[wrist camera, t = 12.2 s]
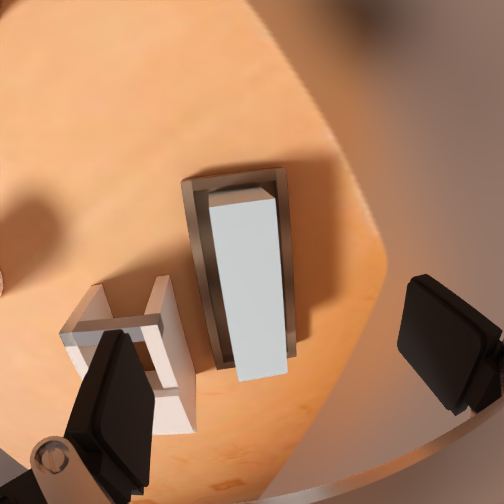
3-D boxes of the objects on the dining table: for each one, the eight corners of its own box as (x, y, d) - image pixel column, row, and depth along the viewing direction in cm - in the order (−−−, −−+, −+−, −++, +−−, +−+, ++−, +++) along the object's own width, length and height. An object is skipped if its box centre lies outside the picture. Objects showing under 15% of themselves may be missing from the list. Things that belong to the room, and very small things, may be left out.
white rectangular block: (208, 192, 23) (208, 207, 18) (258, 185, 24) (275, 198, 18) (232, 339, 28) (238, 381, 23) (272, 332, 29) (287, 373, 23)
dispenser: (91, 285, 25) (54, 339, 17) (169, 274, 26) (155, 331, 18) (128, 380, 29) (114, 440, 21) (196, 374, 30) (196, 439, 22)
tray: (182, 179, 23) (180, 182, 22) (280, 167, 24) (285, 168, 22) (216, 358, 30) (216, 369, 28) (291, 345, 30) (296, 356, 29)
